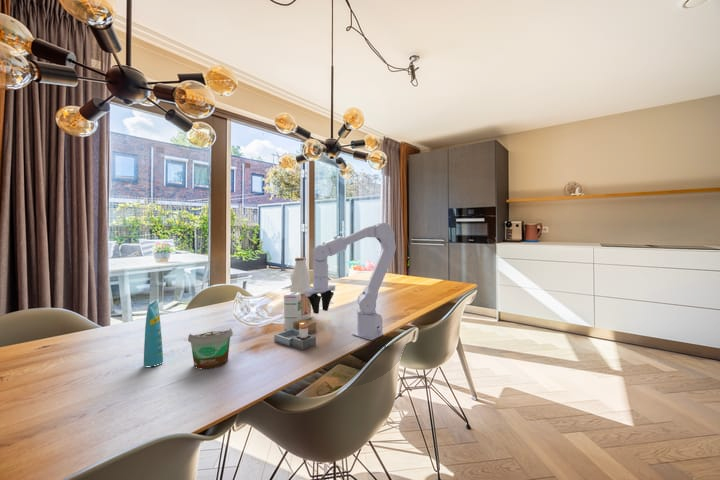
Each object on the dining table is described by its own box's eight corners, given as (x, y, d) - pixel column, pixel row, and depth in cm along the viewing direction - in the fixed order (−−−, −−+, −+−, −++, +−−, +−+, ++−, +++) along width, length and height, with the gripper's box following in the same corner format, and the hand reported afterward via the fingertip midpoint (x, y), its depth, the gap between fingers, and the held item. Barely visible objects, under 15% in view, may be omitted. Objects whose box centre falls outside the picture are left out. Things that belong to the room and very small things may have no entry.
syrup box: (298, 330, 122) (297, 294, 121) (283, 329, 122) (283, 294, 121) (301, 325, 127) (301, 292, 127) (287, 325, 128) (287, 291, 127)
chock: (316, 331, 120) (316, 321, 120) (305, 335, 116) (305, 325, 115) (304, 328, 125) (304, 318, 124) (293, 332, 120) (293, 322, 120)
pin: (309, 345, 105) (309, 322, 105) (303, 348, 103) (303, 325, 103) (304, 343, 107) (303, 321, 107) (297, 345, 105) (297, 323, 104)
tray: (307, 339, 111) (307, 333, 111) (289, 346, 104) (289, 339, 104) (292, 334, 116) (292, 328, 116) (274, 341, 109) (274, 334, 109)
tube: (161, 367, 88) (159, 303, 87) (141, 371, 86) (139, 304, 85) (164, 358, 95) (163, 298, 94) (146, 360, 93) (145, 299, 92)
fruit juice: (295, 321, 133) (294, 259, 132) (287, 316, 140) (287, 257, 140) (314, 318, 138) (314, 258, 137) (306, 313, 146) (305, 256, 145)
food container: (187, 374, 84) (186, 339, 83) (188, 366, 89) (187, 333, 89) (234, 365, 89) (234, 332, 89) (233, 358, 95) (232, 326, 94)
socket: (315, 345, 106) (315, 336, 105) (303, 350, 101) (302, 341, 101) (304, 341, 109) (304, 333, 109) (291, 346, 104) (291, 337, 104)
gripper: (326, 273, 122) (326, 306, 122) (299, 277, 111) (299, 314, 111) (339, 275, 118) (339, 309, 118) (312, 279, 106) (312, 317, 107)
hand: (320, 311), depth 114 cm, fingers open, 4 cm apart
